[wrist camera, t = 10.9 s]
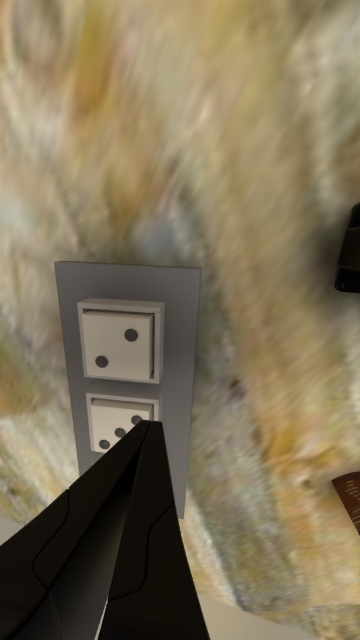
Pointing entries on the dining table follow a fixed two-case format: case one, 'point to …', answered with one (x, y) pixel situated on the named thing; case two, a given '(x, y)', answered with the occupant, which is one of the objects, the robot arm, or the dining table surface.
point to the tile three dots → (116, 420)
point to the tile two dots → (119, 343)
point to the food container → (350, 495)
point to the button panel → (169, 350)
